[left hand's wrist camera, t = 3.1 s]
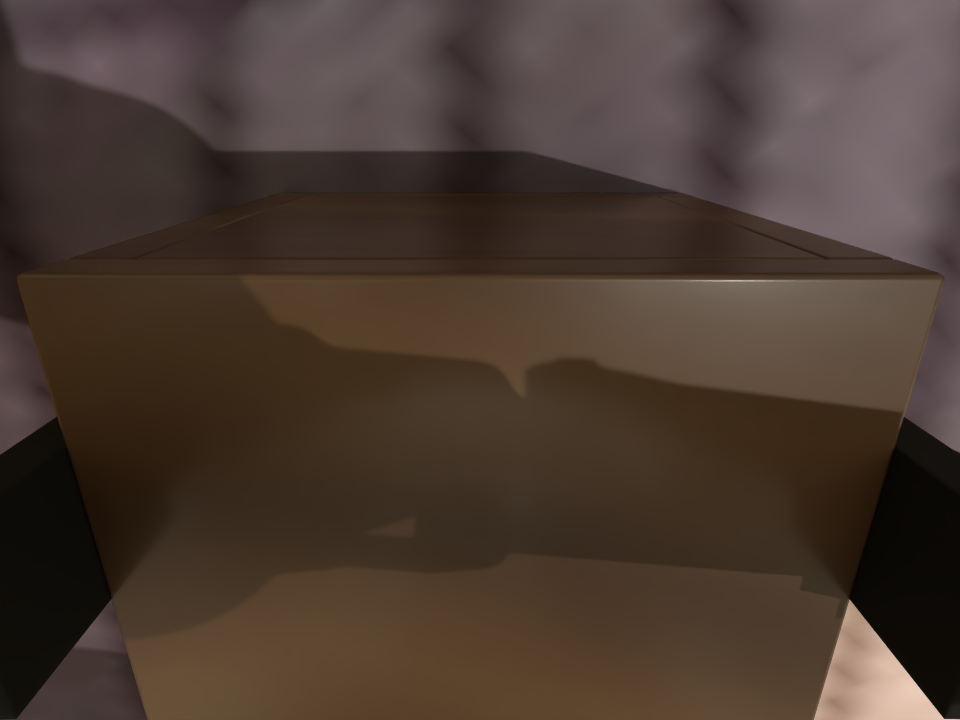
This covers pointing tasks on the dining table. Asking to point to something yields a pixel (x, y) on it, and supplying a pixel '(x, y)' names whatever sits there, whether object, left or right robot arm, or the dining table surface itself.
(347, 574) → the cabinet
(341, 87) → the dining table surface
